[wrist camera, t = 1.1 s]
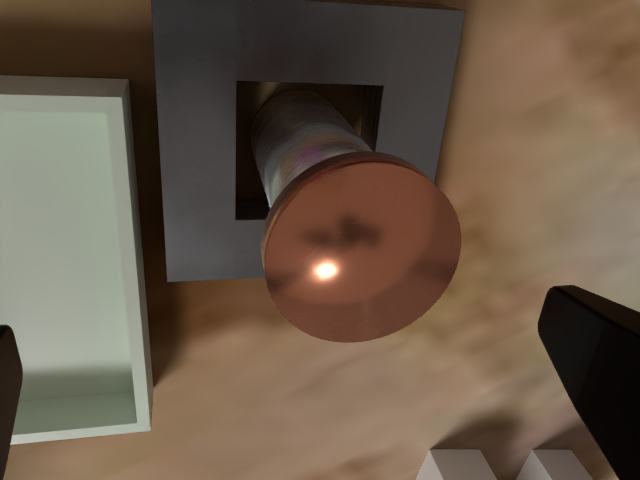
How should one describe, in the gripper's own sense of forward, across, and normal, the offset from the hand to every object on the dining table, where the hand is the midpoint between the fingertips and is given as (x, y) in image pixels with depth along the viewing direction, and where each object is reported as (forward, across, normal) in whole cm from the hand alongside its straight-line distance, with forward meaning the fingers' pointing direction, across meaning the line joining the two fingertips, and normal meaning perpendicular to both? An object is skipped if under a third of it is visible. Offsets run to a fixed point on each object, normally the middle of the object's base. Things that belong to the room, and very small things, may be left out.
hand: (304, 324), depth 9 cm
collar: (+13, -2, +1) cm, 13 cm away
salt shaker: (+13, -2, +1) cm, 13 cm away
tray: (+13, +10, +6) cm, 17 cm away
